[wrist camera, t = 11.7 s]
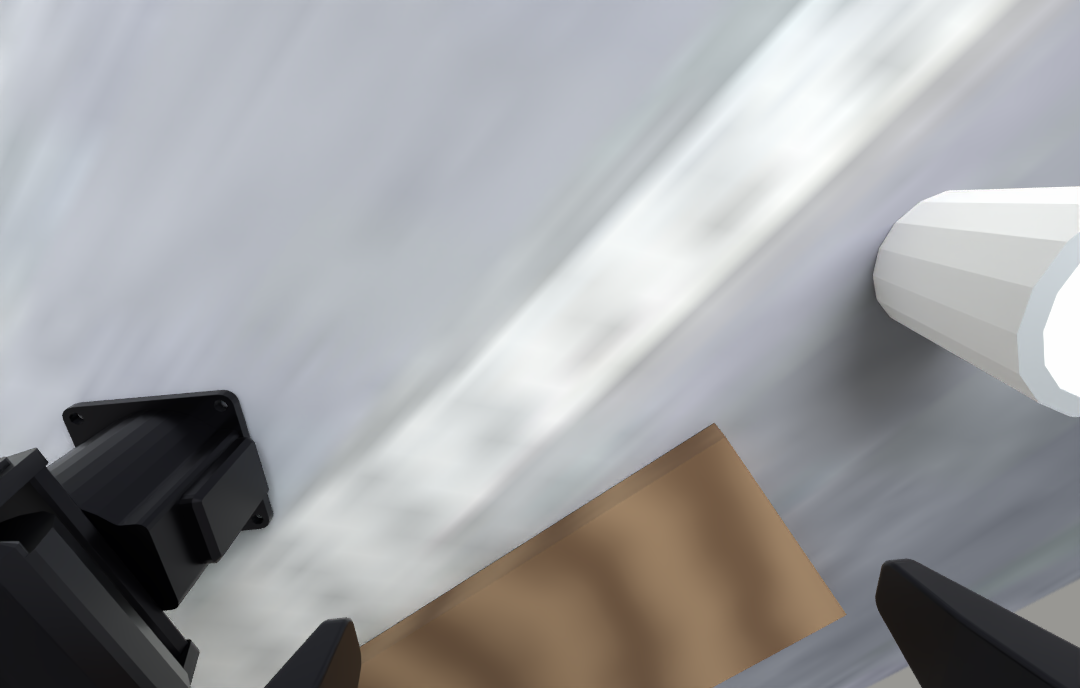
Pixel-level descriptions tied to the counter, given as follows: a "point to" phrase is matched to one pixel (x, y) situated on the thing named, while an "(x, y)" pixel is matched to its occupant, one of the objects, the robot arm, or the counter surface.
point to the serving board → (624, 591)
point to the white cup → (993, 284)
